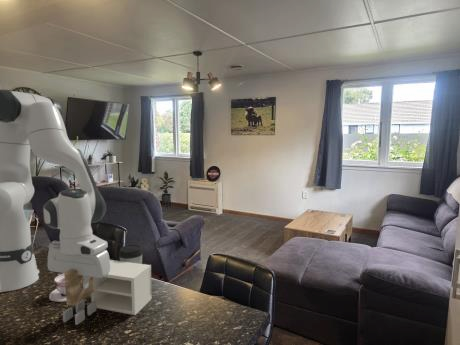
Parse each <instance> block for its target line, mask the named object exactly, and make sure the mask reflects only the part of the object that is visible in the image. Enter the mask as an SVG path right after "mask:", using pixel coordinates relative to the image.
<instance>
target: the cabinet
mask: <svg viewBox="0 0 460 345" xmlns="http://www.w3.org/2000/svg"><path fill="white" fill-rule="evenodd" d="M93 289H94V292H92V293H91V294H90V295H91V296H90V297H91V300H90V301H91V302H90V303H88V304H87V305H86V301H85V298H84V299H82V300H81V301H80V302H78V303H77V304H75V305H74V306H75V313H76V314H74V309H73V307H74V306H70V307H69V308H66V309H65V310H64V311H63V312H62V323H67V322H68V321H69V320H71V319H72V318H74V322H75V323H74V324H75V325H80V324H81V323H82V322H83V321H84V320H86V315H85V314H86V313H85V311H86V310H87V316H91V315H92V314H93V313H94V312H96V311H97V309H100V310H106V311H111V312H117V313H121V314H128V315H132V316H136V315H137V314H138V313H139V312H140V311H141V310H142V309H143V308H144V307H145V306H146V305H147V304H148V303H149V302H151V300H152V298H153V297H152V296H153V295H152V264H146V263H142V264H138V263H131V262H123V261H120V260H117V259H116V260H114V259H110V272H109V273H108V274H107V275H106V276H104V277H103V278H95V277H93ZM86 308H87V309H86ZM85 309H86V310H85Z"/></svg>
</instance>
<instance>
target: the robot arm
mask: <svg viewBox="0 0 460 345" xmlns="http://www.w3.org/2000/svg"><path fill="white" fill-rule="evenodd" d="M65 125H66V124H65V123H64V119H63V109H62V106H61V104H60V102H59V101H58V100H55V99H54V98H52V97H49V96H47V97H46V96H42V95H39V94H35V93H31V92H22V91H15V90H14V91H13V90H9V89H0V293H4V292H12V291H16V290H20V289H23V288H26V287H28V286H31V285H33V284H34V283H36V282H37V281H38V280H39V279H40V277H39V273H40V269H38V267H37V261H36V257H35V254H34V244H33V242H32V235H31V234H32V232H31V225H30V224H31V223H30V222H29V221H28V219H27V217H26V214H25V210H24V205H26V204H28V203H30V201H31V200H32V198H33V197H34V194H35V187H34V184H33V179H32V173H31V152H32V154H34V156H36V157H37V158H38V159H40V160H42V161H45V162H47V163H49V164H53V165H57V166H62V167H64V168H66V169H68V170H70V171H71V172H73V174H74V176H75V178H76V181H77V183H78V185H79V188H67V189H63V190H61V191H60V192H59V193H58V196H57V197H54V198H51V199H49V200H47V202H46V203H45V204H43V207H42V219H43V224H44V225H46V226H47V227H49V228H51V229H53V230H57V229H58V230H59V241H58V240H53V241H52V242H50V243H49V244H48V253H47V268H48V270H49V271H50V272H56V273H61V274H63V273H65V272H66V271H68V270H70V269H73V270H77V274H78V275H82V276H83V279H84V281H83V282H82V283H80V285H81V288H83V289H86V288H88V286H89V280H90V278H91V277H95V278H103V277H104V276H106V275H107V274H108V273H109V272H110V260H111V259H110V255H109V252H108V250H107V248H109V246H108V245H109V244H108V241H107V240H104V239H102V238H100V237H98V236H97V235H95V234H93V228H92V224H94V223H99V222H100V221H101V220H102V219H103V217H104V216H105V214H106V213H107V204H106V203H107V202H106V201H105V199H104V197H103V195H102V194H101V192H100V190H99V188H98V185H97V183H96V181H95V179H94V176H93V174H92V171H91V169H90V166H89V163H88V162H87V159H86V157H85V155H84V154H83V152H82V151H81V149H79V148H78V147H76V146H75V145H73V142H71V140H70V138H69V137H68V133H67V129H66V126H65Z"/></svg>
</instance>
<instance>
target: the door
mask: <svg viewBox="0 0 460 345" xmlns="http://www.w3.org/2000/svg"><path fill="white" fill-rule="evenodd" d="M64 276H65V289H66V295H65V297H66V301H65V302H66V305H67V306H70V307H74V306H75V304H77V303H78V302H80V301H81V300H82V299H85V298H87V297H89V295H91V293H92V292H94V289H93V277H91V278H90V280H89V286H88V288H86V289H83V288H81V285H80V283H82V282H83V281H84V279H83V276H82V275H78V274H77V270H73V269H70V270H68V271H66V272H65V273H64Z"/></svg>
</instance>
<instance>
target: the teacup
mask: <svg viewBox="0 0 460 345" xmlns="http://www.w3.org/2000/svg"><path fill="white" fill-rule="evenodd" d="M54 282H55V283H56V284H57V285H56V288H55V289H54V290H52V291H51V292H50V293H49V295H48V298H49V300H50V301H52V302H56V303H57V302H58V303H64V302H66V289H65V276H64V273H61V274H59V275H57V276H55V278H54Z"/></svg>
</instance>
